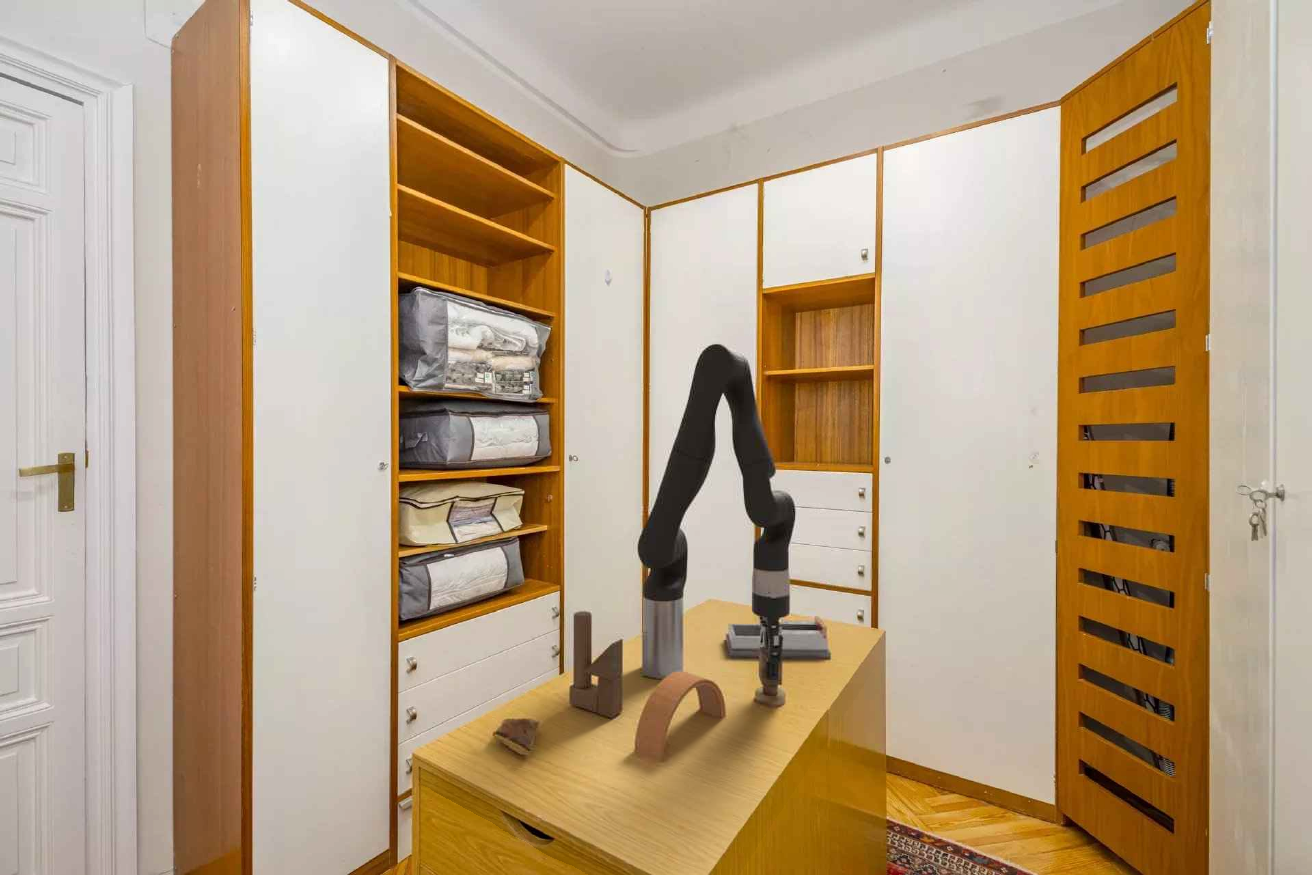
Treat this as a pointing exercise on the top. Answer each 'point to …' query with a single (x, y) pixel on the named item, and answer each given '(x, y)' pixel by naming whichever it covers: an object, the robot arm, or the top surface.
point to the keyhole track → (797, 640)
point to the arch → (673, 709)
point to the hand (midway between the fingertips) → (770, 674)
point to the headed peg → (769, 684)
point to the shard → (517, 734)
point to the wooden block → (595, 671)
